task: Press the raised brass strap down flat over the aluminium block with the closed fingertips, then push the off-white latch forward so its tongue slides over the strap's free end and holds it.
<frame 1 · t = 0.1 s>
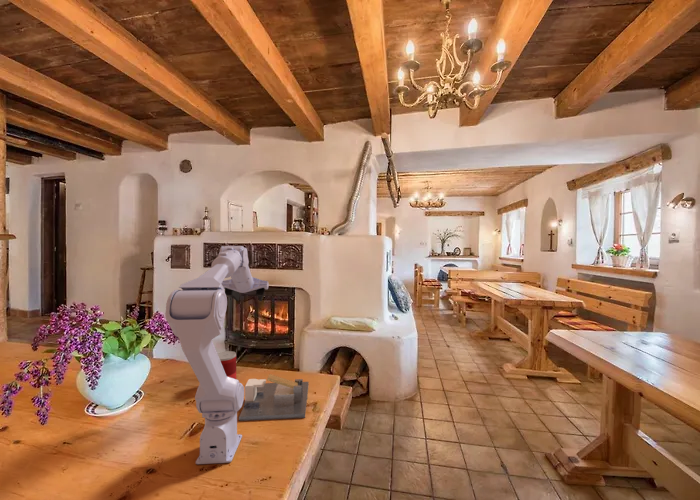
hand: (249, 298, 100), 32 cm above the table, tool tilted 50°, fingers open, 7 cm apart
latch: (255, 390, 93), point 4 cm above the table, slide at 0.0 cm
strap: (283, 381, 94), point 7 cm above the table, hinge at 20.0°
base plate: (277, 400, 95), on the table
canned food: (224, 386, 105), on the table
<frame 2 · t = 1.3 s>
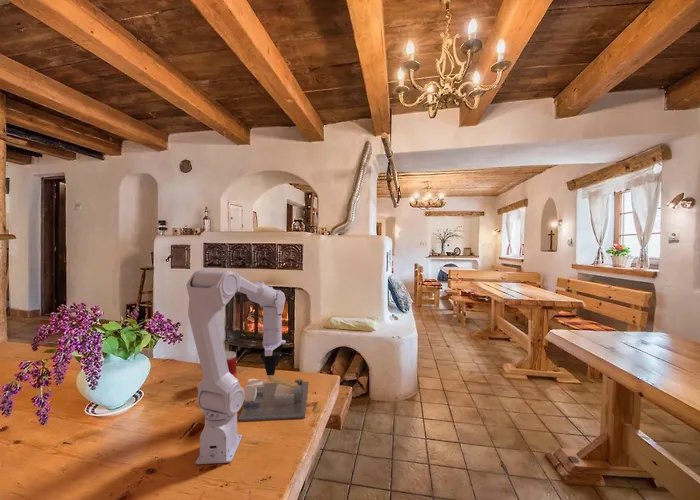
hand: (272, 370, 93), 10 cm above the table, tool pointing down, fingers open, 6 cm apart
nothing on the table moved.
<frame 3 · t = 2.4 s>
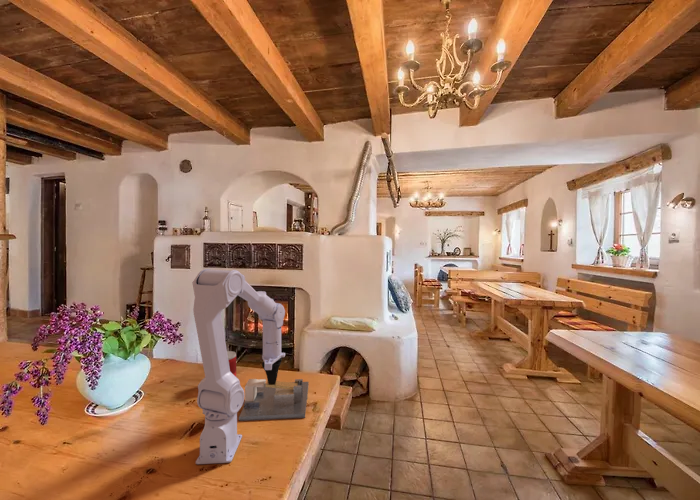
hand: (272, 382, 93), 6 cm above the table, tool pointing down, fingers closed, pressing on strap
strap: (283, 385, 94), point 6 cm above the table, hinge at 7.3°, touching gripper
everything else where it was.
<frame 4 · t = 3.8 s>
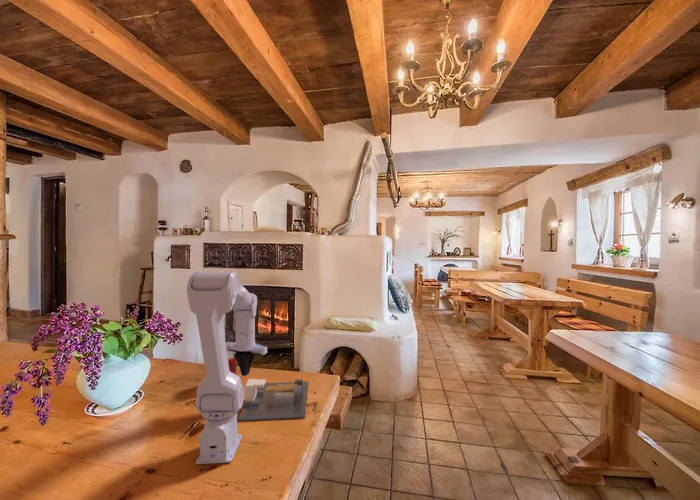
hand: (245, 374, 93), 9 cm above the table, tool pointing down, fingers closed
strap: (283, 387, 94), point 5 cm above the table, hinge at -2.6°, touching base plate
everything else where it was.
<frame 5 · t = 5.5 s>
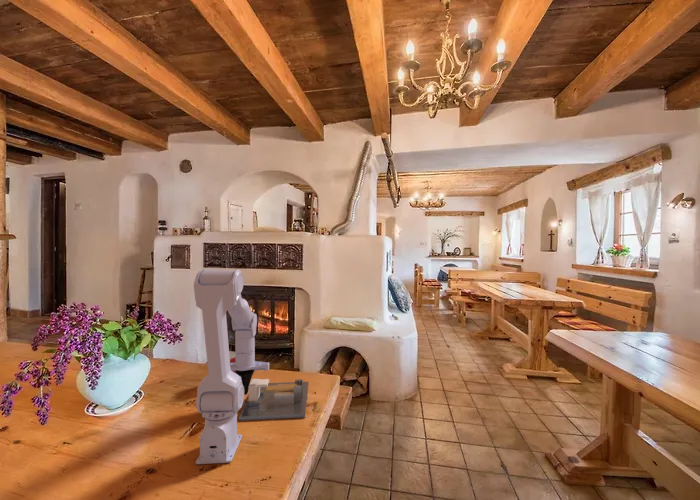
hand: (245, 393, 93), 3 cm above the table, tool pointing down, fingers closed
latch: (259, 390, 93), point 4 cm above the table, slide at 1.1 cm, touching gripper
everything else where it was.
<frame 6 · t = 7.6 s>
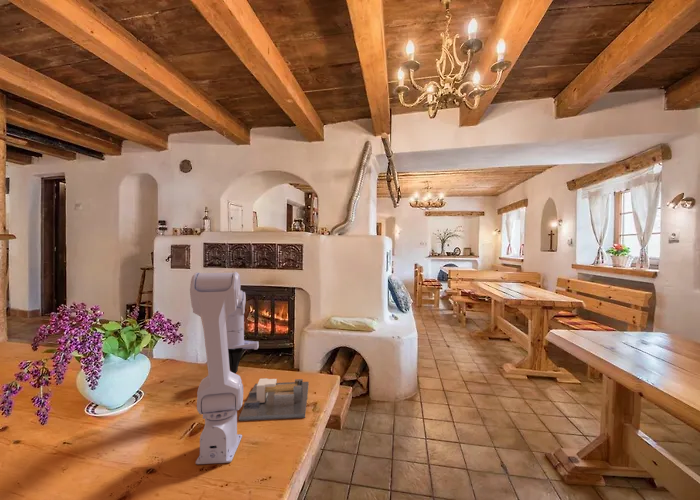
hand: (234, 372, 92), 10 cm above the table, tool pointing down, fingers closed
latch: (267, 390, 93), point 4 cm above the table, slide at 3.5 cm
everything else where it was.
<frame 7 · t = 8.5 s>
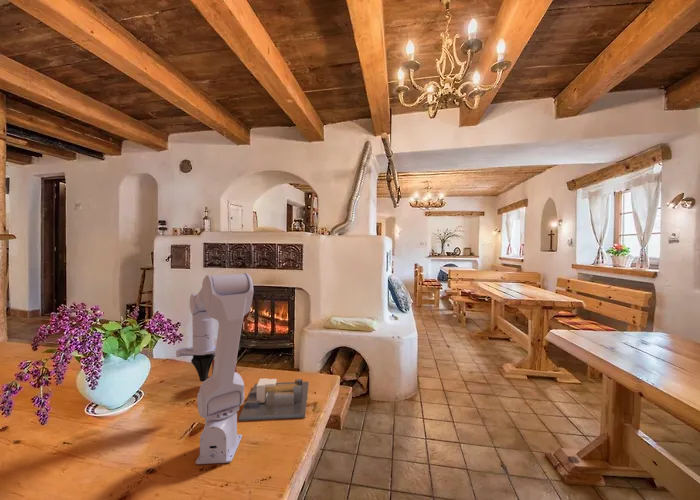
hand: (203, 379, 87), 10 cm above the table, tool pointing down, fingers closed
nothing on the table moved.
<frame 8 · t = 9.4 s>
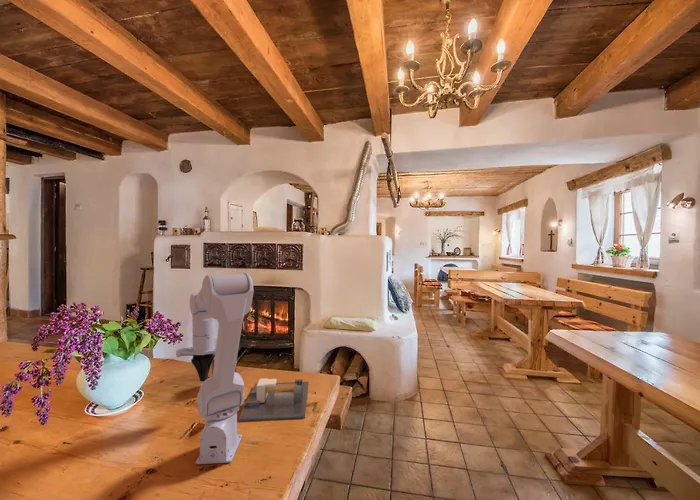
hand: (203, 379, 87), 10 cm above the table, tool pointing down, fingers closed
nothing on the table moved.
at the end: strap at -3° (first picture: +20°); latch slide at 3.5 cm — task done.
